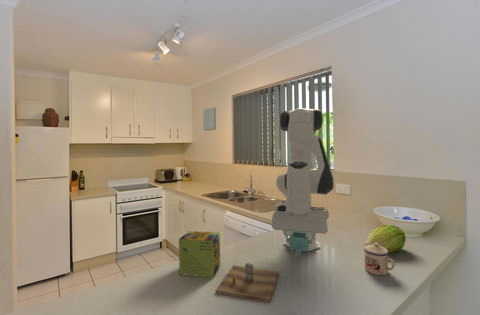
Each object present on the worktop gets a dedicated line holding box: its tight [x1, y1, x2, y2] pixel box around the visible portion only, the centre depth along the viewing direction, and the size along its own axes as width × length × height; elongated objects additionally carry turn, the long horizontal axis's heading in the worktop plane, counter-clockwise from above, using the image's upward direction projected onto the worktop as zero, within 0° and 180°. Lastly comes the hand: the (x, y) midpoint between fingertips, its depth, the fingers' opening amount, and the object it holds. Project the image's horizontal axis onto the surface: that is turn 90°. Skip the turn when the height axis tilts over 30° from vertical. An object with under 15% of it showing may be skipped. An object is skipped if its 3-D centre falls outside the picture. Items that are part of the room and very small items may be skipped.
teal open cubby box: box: [288, 231, 309, 256], centre depth 92 cm, size 10×7×5 cm, turn 162°
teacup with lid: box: [363, 243, 396, 276], centre depth 104 cm, size 12×9×12 cm
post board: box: [215, 262, 280, 303], centre depth 98 cm, size 20×20×7 cm
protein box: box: [178, 230, 221, 278], centre depth 108 cm, size 10×15×16 cm
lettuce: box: [364, 224, 407, 253], centre depth 125 cm, size 13×22×14 cm
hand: (299, 242), depth 94 cm, fingers closed on teal open cubby box, 7 cm apart
